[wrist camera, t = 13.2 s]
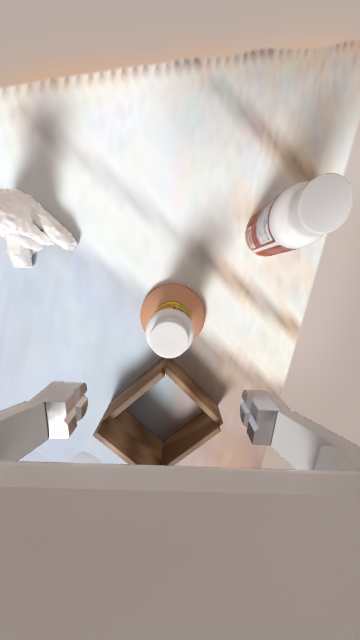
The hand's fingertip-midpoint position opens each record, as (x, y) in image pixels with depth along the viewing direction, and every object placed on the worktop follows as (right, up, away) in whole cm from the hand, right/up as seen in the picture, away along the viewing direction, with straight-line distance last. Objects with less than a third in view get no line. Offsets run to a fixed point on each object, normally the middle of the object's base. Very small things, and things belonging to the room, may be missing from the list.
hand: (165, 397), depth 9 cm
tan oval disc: (0, +5, +19) cm, 20 cm away
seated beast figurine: (-19, +17, +16) cm, 30 cm away
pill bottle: (+13, +17, +17) cm, 27 cm away
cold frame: (-2, -11, +23) cm, 25 cm away
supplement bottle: (0, +4, +19) cm, 19 cm away
